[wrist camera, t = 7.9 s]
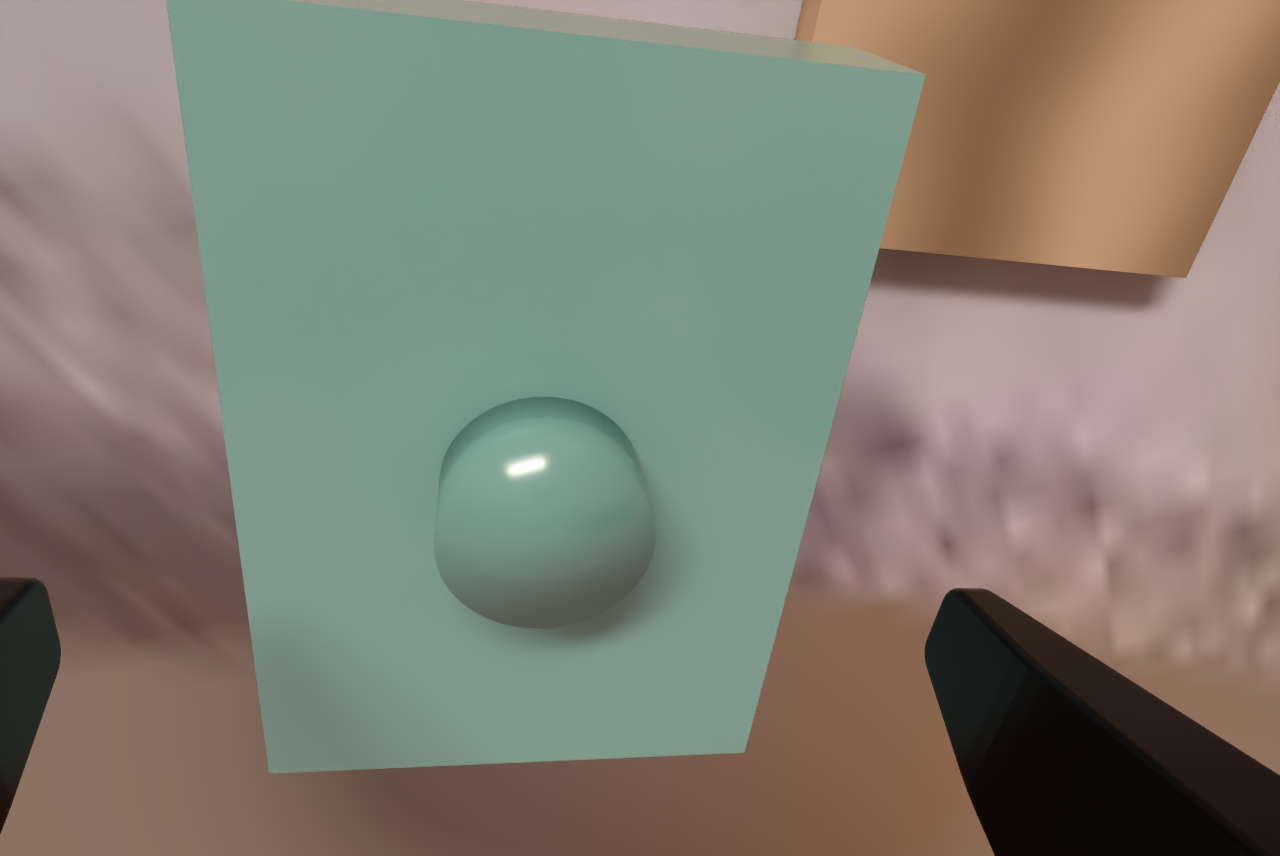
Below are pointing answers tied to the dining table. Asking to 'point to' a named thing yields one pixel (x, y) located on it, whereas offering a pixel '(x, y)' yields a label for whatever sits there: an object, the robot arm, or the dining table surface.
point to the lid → (523, 360)
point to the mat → (1067, 122)
